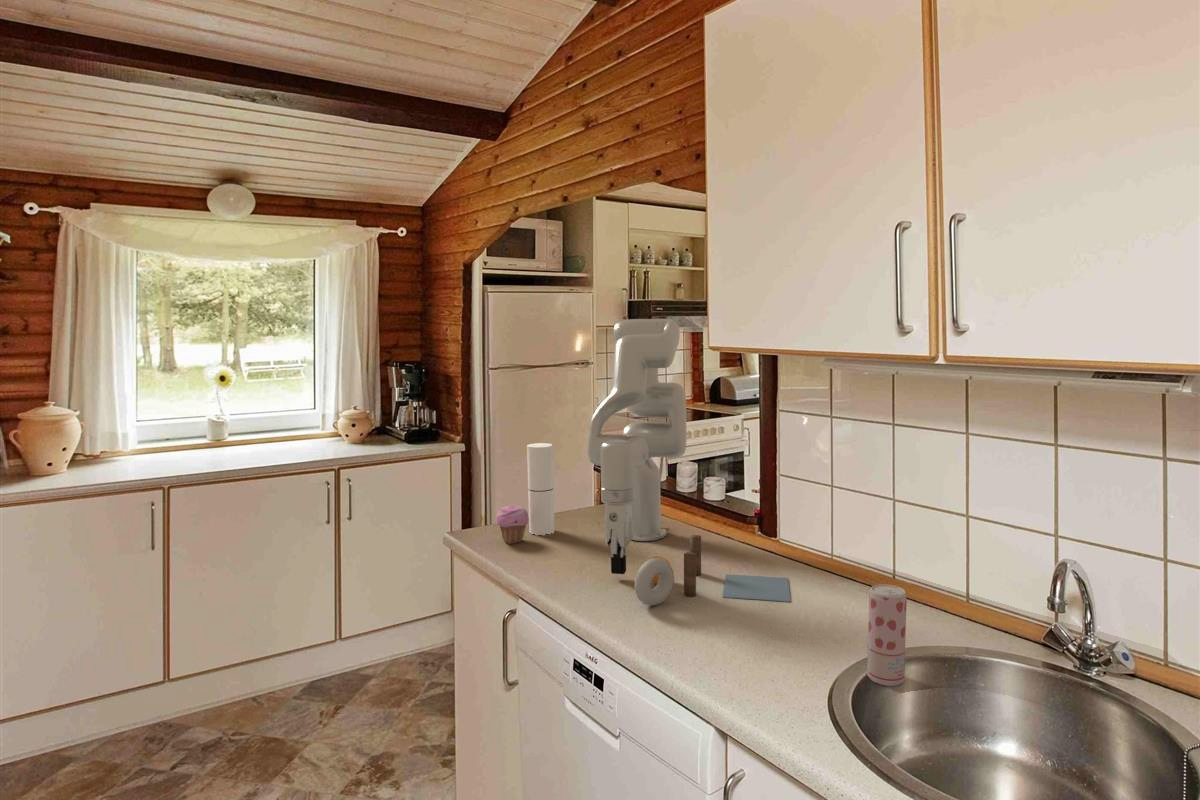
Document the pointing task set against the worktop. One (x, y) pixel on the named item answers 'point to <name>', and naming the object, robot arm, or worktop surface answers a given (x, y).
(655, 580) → the ball
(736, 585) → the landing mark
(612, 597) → the worktop surface
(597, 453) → the robot arm
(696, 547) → the post
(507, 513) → the cupcake
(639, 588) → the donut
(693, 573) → the post
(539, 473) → the cylindrical container
